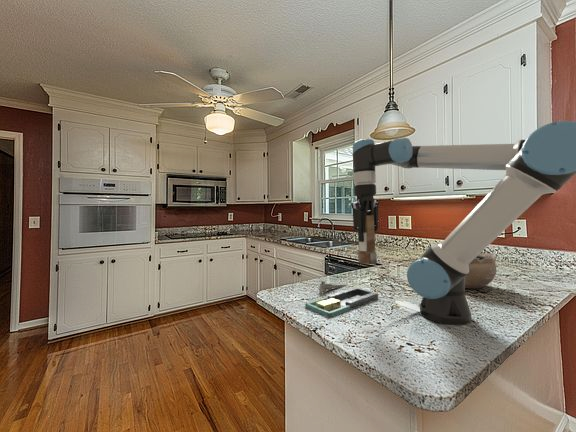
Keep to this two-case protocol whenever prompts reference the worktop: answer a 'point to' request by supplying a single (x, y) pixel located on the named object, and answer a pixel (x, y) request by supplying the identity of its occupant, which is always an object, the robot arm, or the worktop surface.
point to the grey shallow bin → (354, 297)
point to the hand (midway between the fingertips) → (367, 250)
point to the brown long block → (368, 243)
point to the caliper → (328, 286)
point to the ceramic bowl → (481, 271)
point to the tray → (329, 314)
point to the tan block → (324, 305)
